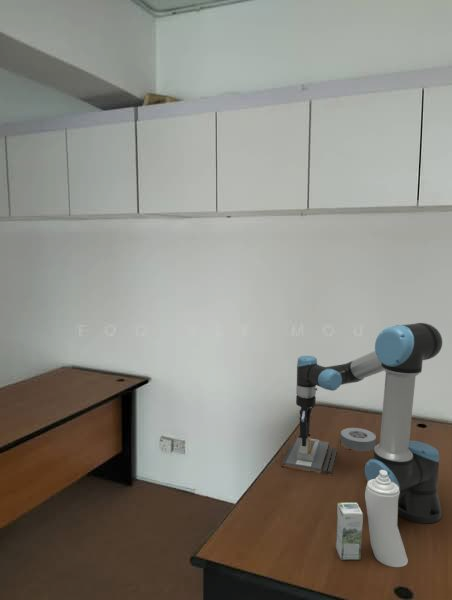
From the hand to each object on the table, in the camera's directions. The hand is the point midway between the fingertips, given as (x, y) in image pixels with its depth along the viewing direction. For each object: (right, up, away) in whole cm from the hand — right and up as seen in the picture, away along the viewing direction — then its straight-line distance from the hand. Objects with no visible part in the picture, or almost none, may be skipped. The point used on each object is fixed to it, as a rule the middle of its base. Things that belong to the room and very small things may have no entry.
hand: (304, 452), depth 184 cm
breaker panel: (+5, -5, +11) cm, 13 cm away
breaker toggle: (+2, -4, +6) cm, 7 cm away
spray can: (+14, -13, -52) cm, 55 cm away
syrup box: (+4, -13, -51) cm, 53 cm away
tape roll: (+28, -5, +24) cm, 37 cm away
